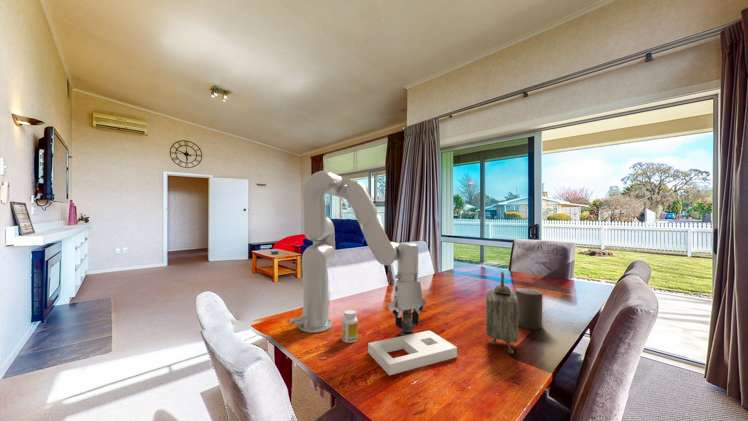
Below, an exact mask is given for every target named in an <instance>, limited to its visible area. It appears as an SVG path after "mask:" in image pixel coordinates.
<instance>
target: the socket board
mask: <svg viewBox="0 0 748 421" xmlns="http://www.w3.org/2000/svg"><path fill="white" fill-rule="evenodd" d="M367 346H368V347H367V352H368V354H369V355H370V357H371V358H373V360H374V361H375V362H376V363H377V364H378V365H379V366H380V367H381V368H382V369H383V370H384V372H386V374H387V375H388V376H393V375H397V374H400V373H403V372H407V371H411V370H414V369H419V368H422V367H426V366H428V365H433V364H437V363H439V362H444V361H449V360H451V359H455V358H458V347H457V346H455V344H453V343H451V342H450V341H447V340H446V339H444V338H443V337H441V336H440V335H438V334H436V333H435V332H433V331H431V330H425V331H420V332H414V334H410V335H405V336H402V335H400V336H396V337H392V338H387V339H386V338H385V339H381V340H376V341H371V342H368V343H367ZM400 350H404V351H405V352H406V353H408V354H406V355H401V356H397V357H392V355H390V354H389V353H391V352H396V351H400Z"/></svg>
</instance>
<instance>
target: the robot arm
mask: <svg viewBox="0 0 748 421" xmlns="http://www.w3.org/2000/svg"><path fill="white" fill-rule="evenodd" d="M325 195H331V196H335V197H337V198H340V199H344V200H346V202H347V204H348V206H349V208H350V209H351V211H352V213H353V214H354V217H355V219H356V221H357V222H358V225H359V227H360V229H361V232H362V235H363V236H364V240H365V241H366V244H367V246H368V248H369V250H370V251H371V254H372V255H373V257H374V258H375V260H376V262H378V263H379V264H380V265H381V266H382V265H383V266H389V265H392V264H393V263H394V262H395V261H397V273H396V274H394V278H395V280H396V279H397V280H396V281H395V283H394V284H395V285H394V290H393V300H392V301H391V303H390V304H389V305H388V306H387V308H388V309H389V311H390V312H392V314H393V315H394V316H395V320H394V322H395V326H396V327H397V328H399V329H401V328H402V321H403V316H402V315H403V314H402V313H403V310H410V309H411V310H413V311H411V313H412V315H411V320H412V322H414V323H415V326H419V322H420V321H419V318H420V317H419V315H420V314H421V311H422V310H423V308H424V306H425V305H426V303H427V302H426V300H425V299H423V290H422V284H421V280H419V245H418V244H416V243H413V242H402V243H401V242H395V241H390V239H389V237H388V235H387V233H386V231H385V229H384V226H383V223H382V217H381V214H380V212H379V210H378V208H377V206H376V204H375V203H374V201H373V199H372V197H371V195H370V190H369V188H368V186H367V185H366V184H365V183H363V182H362V181H359V180H354V179H350V178H347V177H344V176H341V175H338V174H335V173H333V172H331V171H329V170H320V171H317V172H314V173H313V174H311V175H310V176H309V177H308V178H307V179H306V180H305V183H304V185H303V189H302V202H303V203H302V204H303V209H302V210H303V232H304V233H303V234H304V236H305V238H306V239H307V240H309V241H311V242H312V245H310V246H308V247H307V248H306V249H305V250H304V251H303V253H302V256H301V268H302V275H303V276H302V278H303V280H302V281H303V283H302V284H303V285H302V287H303V289H302V290H303V291H302V296H303V297H302V299H303V300H302V313H301V314H300V316H298V317H294V318H290V319H289V324H290V325H294V326H298V329H299V330H300V331H302V332H304V333H309V334H312V333H322V332H325V331H328V330H329V329H331V328H332V326H333V321H332V320H331V319H329V272H328V265H329V264H330V263H332V262H333V261H334V259H335V256H336V240H335V238H336V235H335V233H336V232H335V225H334V223H333V221H332V219H330V218H329V217H328V216H327V211H326V210H327V204H326V200H325ZM394 307H395V308H394Z"/></svg>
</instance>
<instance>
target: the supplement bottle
mask: <svg viewBox="0 0 748 421" xmlns="http://www.w3.org/2000/svg"><path fill="white" fill-rule="evenodd" d="M343 313H344V315H343V316H344V317H343V318H342V320H341V324H342V325H341V340H342V342H344V343H348V344H349V343H350V344H351V343H355V342H357V341H358V336H359V335H358V334H359V333H358V331H359V330H358V327H359V325H358V323H359V320H358V318H357V317H356V315H357V312H356V310H352V309H348V310H345V311H344V312H343Z"/></svg>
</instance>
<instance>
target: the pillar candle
mask: <svg viewBox="0 0 748 421" xmlns="http://www.w3.org/2000/svg"><path fill="white" fill-rule="evenodd" d="M515 294H516V296H517V300H518V327H520V328H523V329H527V330H534V331H537V330H541V329H542V328H543V292H542V291H541V290H537V289H533V288H529V287H527V288H525V287H520V288H519V287H517V288H515Z"/></svg>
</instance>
